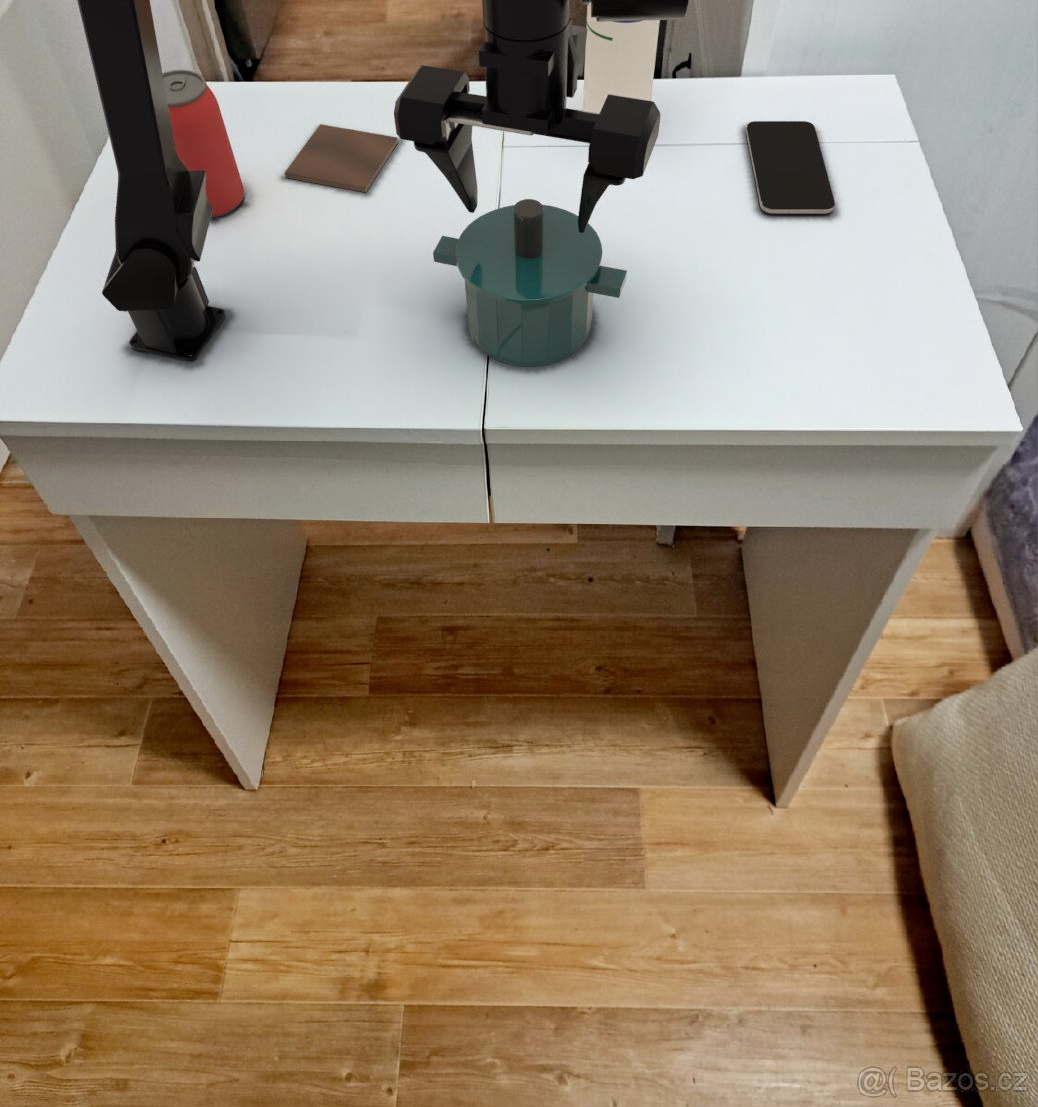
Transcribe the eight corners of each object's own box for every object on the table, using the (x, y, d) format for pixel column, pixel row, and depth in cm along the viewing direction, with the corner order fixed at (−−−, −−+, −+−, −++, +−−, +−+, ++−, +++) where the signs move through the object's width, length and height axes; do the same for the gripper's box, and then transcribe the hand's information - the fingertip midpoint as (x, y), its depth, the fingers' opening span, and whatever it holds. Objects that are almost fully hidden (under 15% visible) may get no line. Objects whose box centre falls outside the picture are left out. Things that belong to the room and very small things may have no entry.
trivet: (366, 192, 94) (365, 187, 94) (285, 177, 96) (284, 172, 95) (398, 142, 99) (397, 137, 98) (321, 129, 100) (320, 124, 100)
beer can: (253, 182, 95) (219, 67, 85) (236, 222, 92) (199, 108, 82) (191, 179, 96) (151, 64, 86) (172, 219, 92) (127, 104, 82)
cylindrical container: (643, 147, 98) (673, -129, 77) (577, 140, 98) (588, -135, 77) (651, 109, 101) (682, -163, 80) (587, 102, 102) (601, -169, 81)
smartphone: (813, 120, 98) (837, 208, 90) (812, 126, 99) (835, 214, 91) (745, 120, 99) (762, 208, 90) (743, 126, 99) (760, 214, 91)
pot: (602, 384, 79) (608, 317, 73) (423, 346, 82) (413, 278, 76) (632, 300, 85) (639, 231, 78) (463, 266, 88) (458, 198, 81)
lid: (580, 323, 73) (582, 271, 69) (435, 294, 75) (429, 242, 71) (616, 228, 80) (621, 175, 75) (483, 204, 82) (480, 151, 77)
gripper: (688, -21, 64) (662, 180, 77) (435, -54, 67) (451, 143, 80) (653, 64, 58) (631, 265, 71) (377, 23, 61) (405, 222, 74)
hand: (527, 219), depth 74 cm, fingers open, 9 cm apart
